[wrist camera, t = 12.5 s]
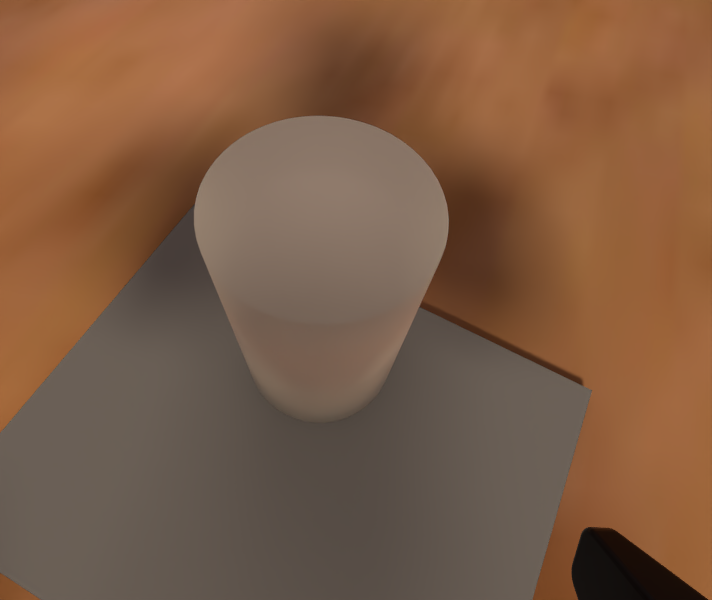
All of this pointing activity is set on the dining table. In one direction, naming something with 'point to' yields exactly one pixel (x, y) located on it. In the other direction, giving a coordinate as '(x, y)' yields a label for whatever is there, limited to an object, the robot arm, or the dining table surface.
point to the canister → (320, 256)
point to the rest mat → (277, 464)
